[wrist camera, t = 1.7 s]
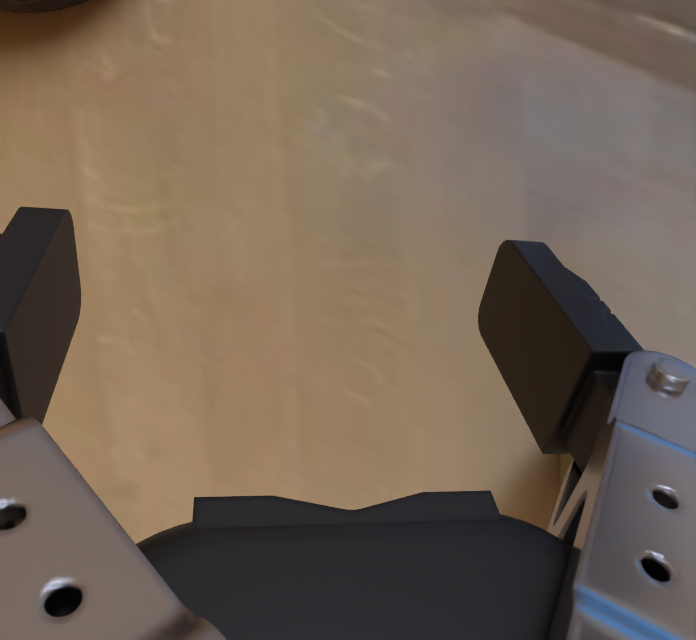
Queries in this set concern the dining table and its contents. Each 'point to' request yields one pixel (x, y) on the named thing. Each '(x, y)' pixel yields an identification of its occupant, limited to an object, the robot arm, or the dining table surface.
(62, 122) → the dining table surface
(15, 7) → the pan
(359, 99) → the dining table surface
